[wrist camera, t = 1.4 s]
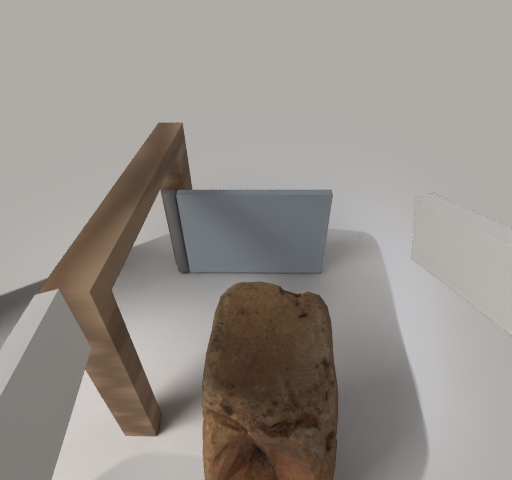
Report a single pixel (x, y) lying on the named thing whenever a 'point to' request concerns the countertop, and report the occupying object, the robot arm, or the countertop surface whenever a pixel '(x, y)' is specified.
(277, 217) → the door
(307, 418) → the brown elongated rounded part
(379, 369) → the countertop surface
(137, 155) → the door frame
